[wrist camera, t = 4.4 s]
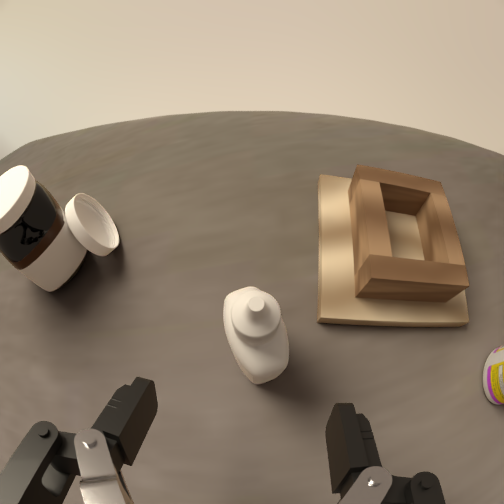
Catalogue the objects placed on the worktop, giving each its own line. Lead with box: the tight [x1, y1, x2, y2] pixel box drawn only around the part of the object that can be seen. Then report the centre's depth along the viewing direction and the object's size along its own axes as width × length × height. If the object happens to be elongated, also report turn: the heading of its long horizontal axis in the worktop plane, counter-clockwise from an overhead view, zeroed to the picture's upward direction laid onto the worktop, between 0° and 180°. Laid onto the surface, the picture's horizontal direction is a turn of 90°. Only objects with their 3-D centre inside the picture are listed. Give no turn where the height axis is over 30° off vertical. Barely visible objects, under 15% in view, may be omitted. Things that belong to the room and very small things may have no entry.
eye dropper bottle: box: [223, 287, 289, 384], centre depth 17 cm, size 4×6×12 cm
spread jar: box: [0, 166, 119, 292], centre depth 22 cm, size 12×11×12 cm
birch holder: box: [317, 165, 469, 327], centre depth 25 cm, size 16×16×6 cm
